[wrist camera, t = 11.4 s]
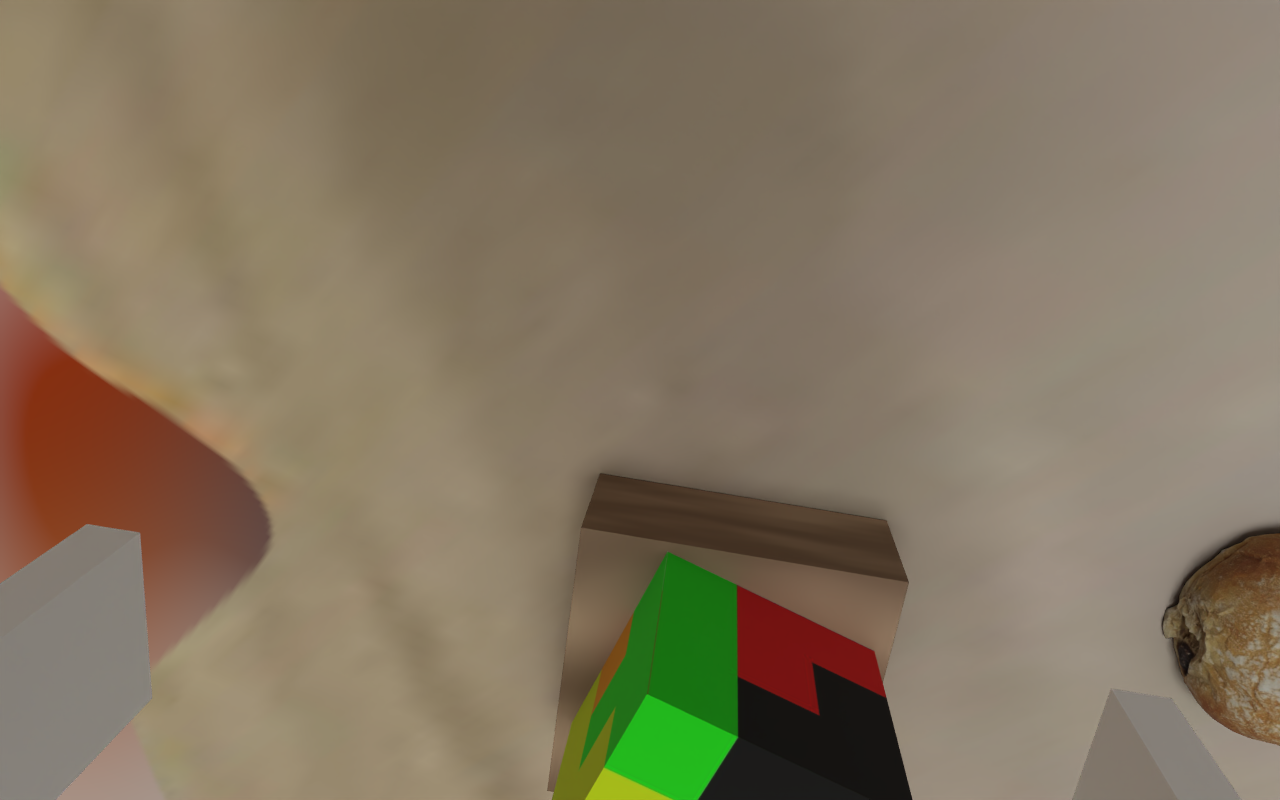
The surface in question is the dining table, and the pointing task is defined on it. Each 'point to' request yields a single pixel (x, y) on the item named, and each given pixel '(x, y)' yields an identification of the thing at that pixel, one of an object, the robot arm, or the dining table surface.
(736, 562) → the walnut plinth
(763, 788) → the puzzle toy
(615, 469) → the dining table surface
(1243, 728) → the bread roll
